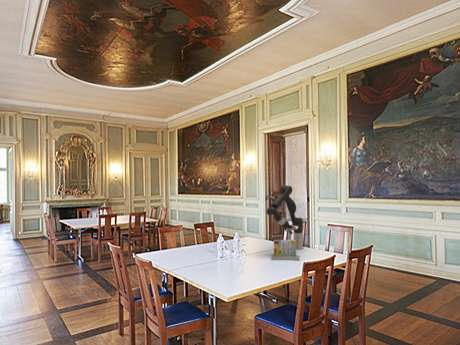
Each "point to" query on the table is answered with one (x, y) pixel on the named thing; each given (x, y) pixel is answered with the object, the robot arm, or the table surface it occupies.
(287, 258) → the mat
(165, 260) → the table surface
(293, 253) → the snack box
